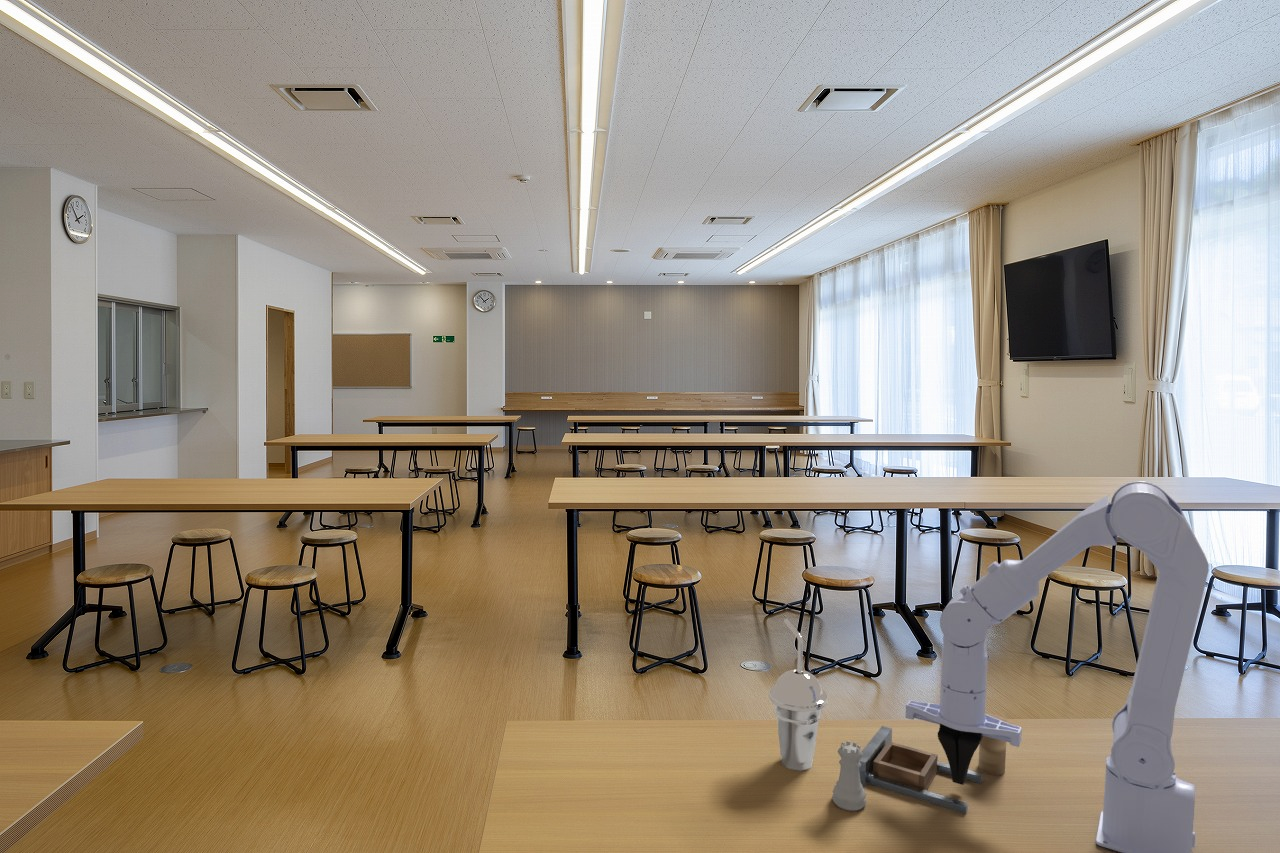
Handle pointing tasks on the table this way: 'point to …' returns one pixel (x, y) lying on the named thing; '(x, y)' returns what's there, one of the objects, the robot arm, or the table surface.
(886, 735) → the rail
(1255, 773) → the table surface
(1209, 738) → the table surface
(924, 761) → the walnut socket block
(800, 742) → the cup with straw
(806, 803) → the table surface
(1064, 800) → the table surface
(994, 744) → the oak dowel
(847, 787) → the rook chess piece
